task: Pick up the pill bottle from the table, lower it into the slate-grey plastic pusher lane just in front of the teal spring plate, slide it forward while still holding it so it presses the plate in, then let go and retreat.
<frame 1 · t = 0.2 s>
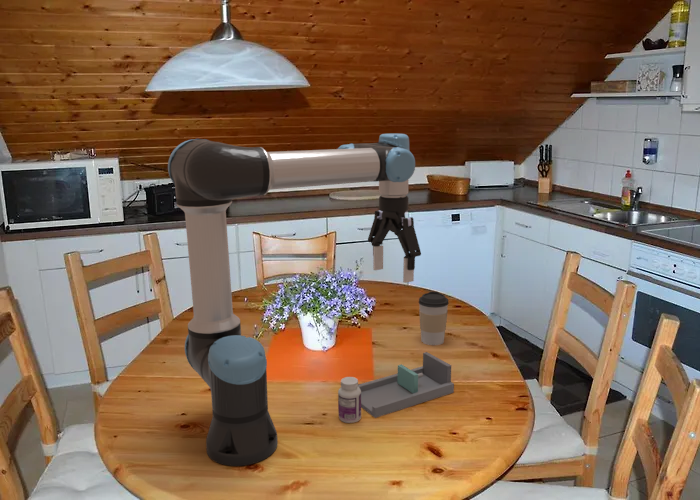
hand: (392, 275, 161), 28 cm above the table, fingers open, 13 cm apart
pusher: (413, 377, 156), point 4 cm above the table, slide at 0.0 cm
coffee cup: (432, 341, 189), on the table
pill bottle: (349, 418, 144), on the table
lane: (400, 394, 155), on the table
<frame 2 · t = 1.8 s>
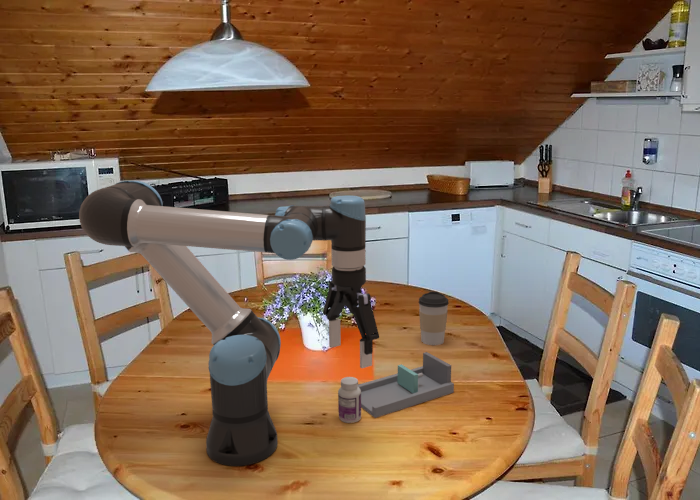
hand: (349, 355, 140), 16 cm above the table, fingers open, 13 cm apart
nothing on the table moved.
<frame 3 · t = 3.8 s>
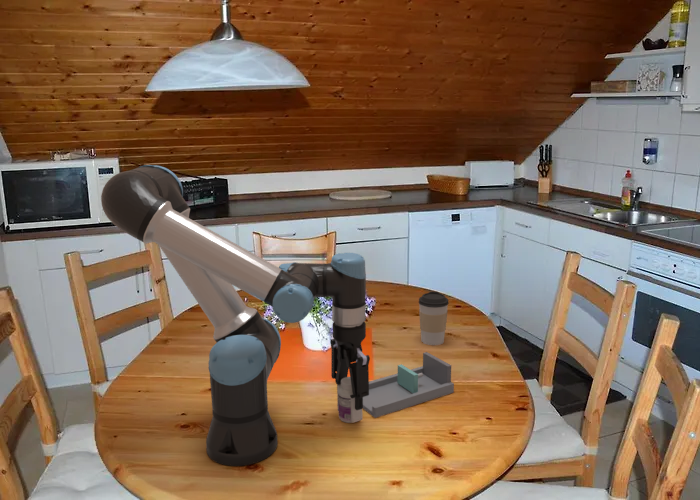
hand: (349, 414, 144), 1 cm above the table, fingers closed on pill bottle, 5 cm apart
pill bottle: (349, 418, 144), on the table, touching gripper
everything else where it was.
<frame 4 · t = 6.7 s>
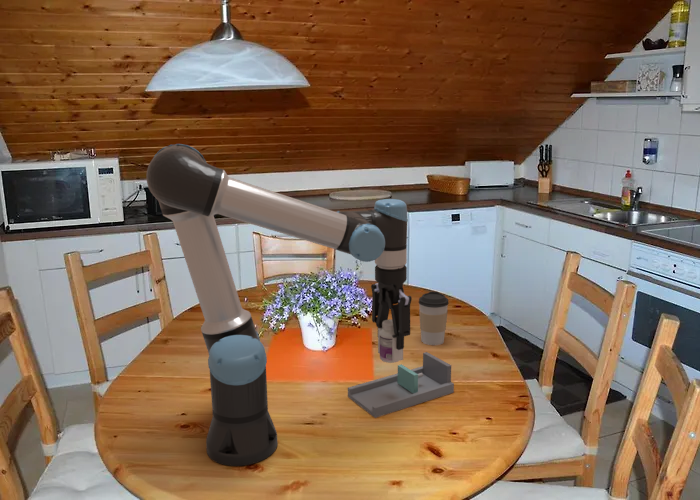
hand: (390, 356, 151), 11 cm above the table, fingers closed on pill bottle, 5 cm apart
pill bottle: (390, 359, 151), point 10 cm above the table, touching gripper
everything else where it was.
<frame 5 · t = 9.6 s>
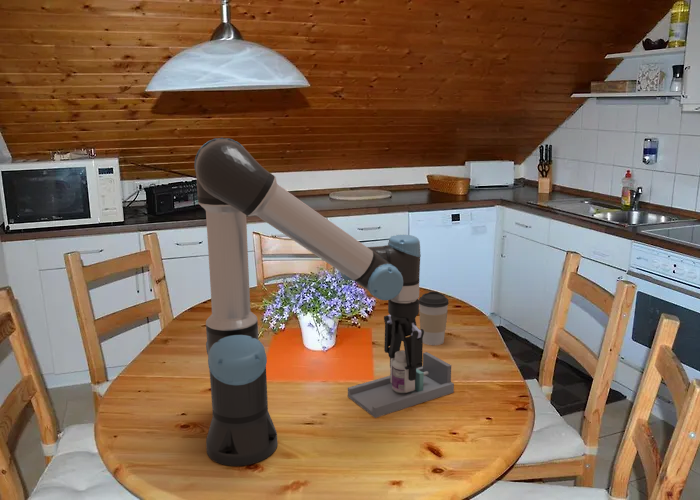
hand: (402, 385, 155), 2 cm above the table, fingers closed on pill bottle, 5 cm apart
pusher: (419, 375, 157), point 4 cm above the table, slide at 1.7 cm, touching pill bottle
pill bottle: (402, 389, 155), point 1 cm above the table, touching gripper, pusher
everything else where it was.
when the fingers open (2 cm above the table, at t = 9.8 s): pill bottle stays where it is, resting on lane.
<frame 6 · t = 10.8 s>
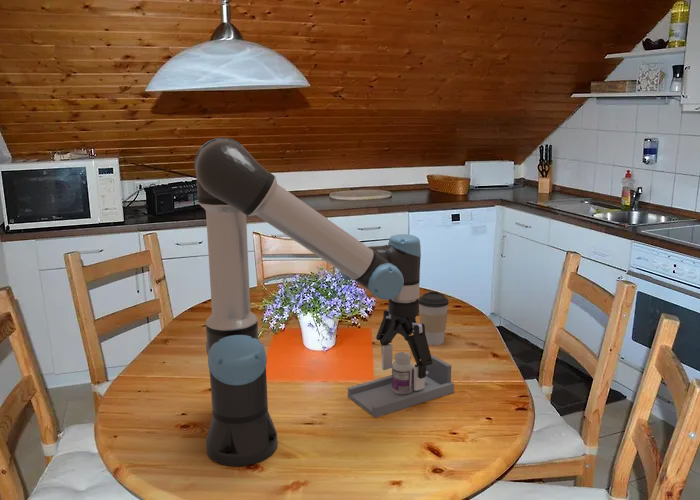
hand: (402, 378, 154), 4 cm above the table, fingers open, 13 cm apart
pusher: (419, 375, 157), point 4 cm above the table, slide at 1.8 cm
pill bottle: (402, 391, 155), point 1 cm above the table, touching lane
everything else where it was.
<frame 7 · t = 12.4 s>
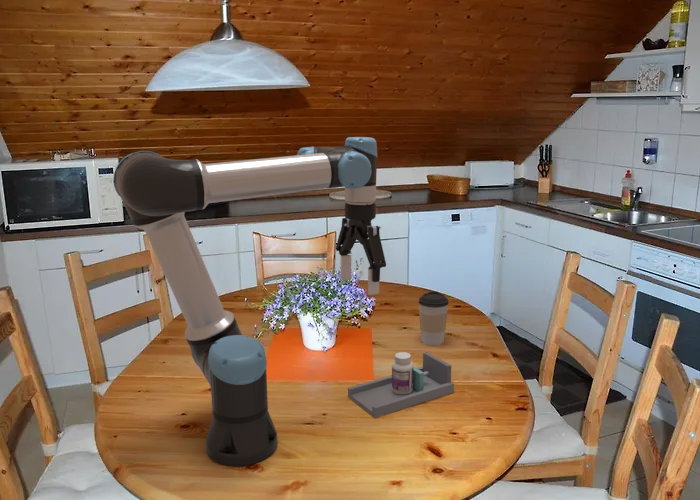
hand: (359, 286, 153), 27 cm above the table, fingers open, 13 cm apart
nothing on the table moved.
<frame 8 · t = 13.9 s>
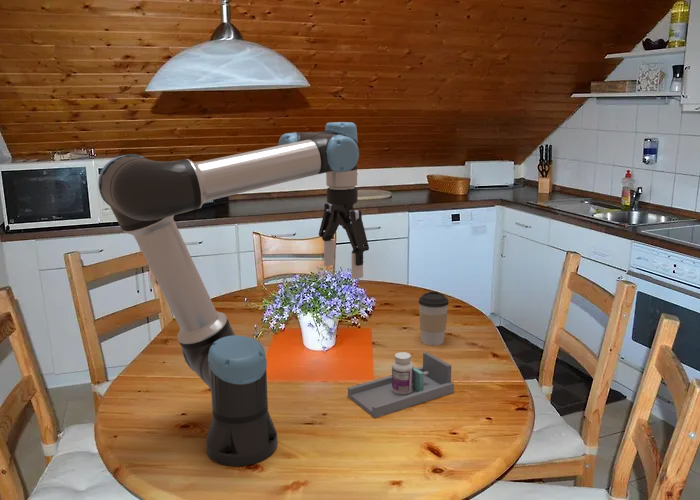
hand: (342, 271, 154), 31 cm above the table, fingers open, 13 cm apart
nothing on the table moved.
at the end: pill bottle inside the target area on the lane (2.0 cm from its centre), point 0.8 cm above the lane's base; pill bottle tilted 0°; the gripper is holding nothing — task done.
